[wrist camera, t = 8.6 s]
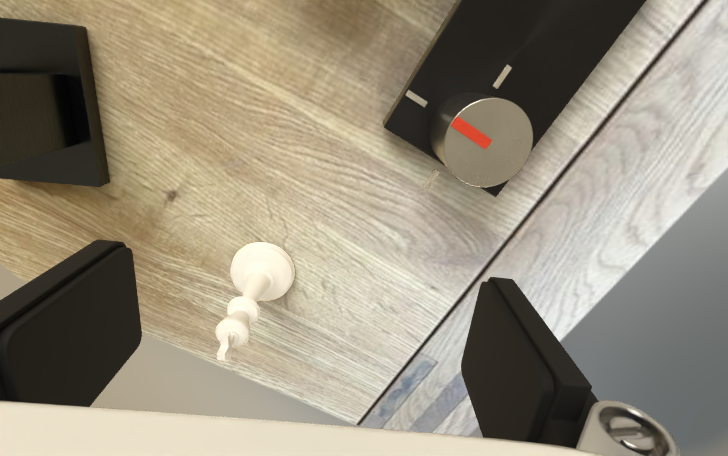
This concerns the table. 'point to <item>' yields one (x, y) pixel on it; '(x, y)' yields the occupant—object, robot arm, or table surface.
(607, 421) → the robot arm
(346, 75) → the table surface
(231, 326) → the chess piece
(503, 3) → the dial panel
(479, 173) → the knob
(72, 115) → the lever bracket
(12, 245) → the table surface
